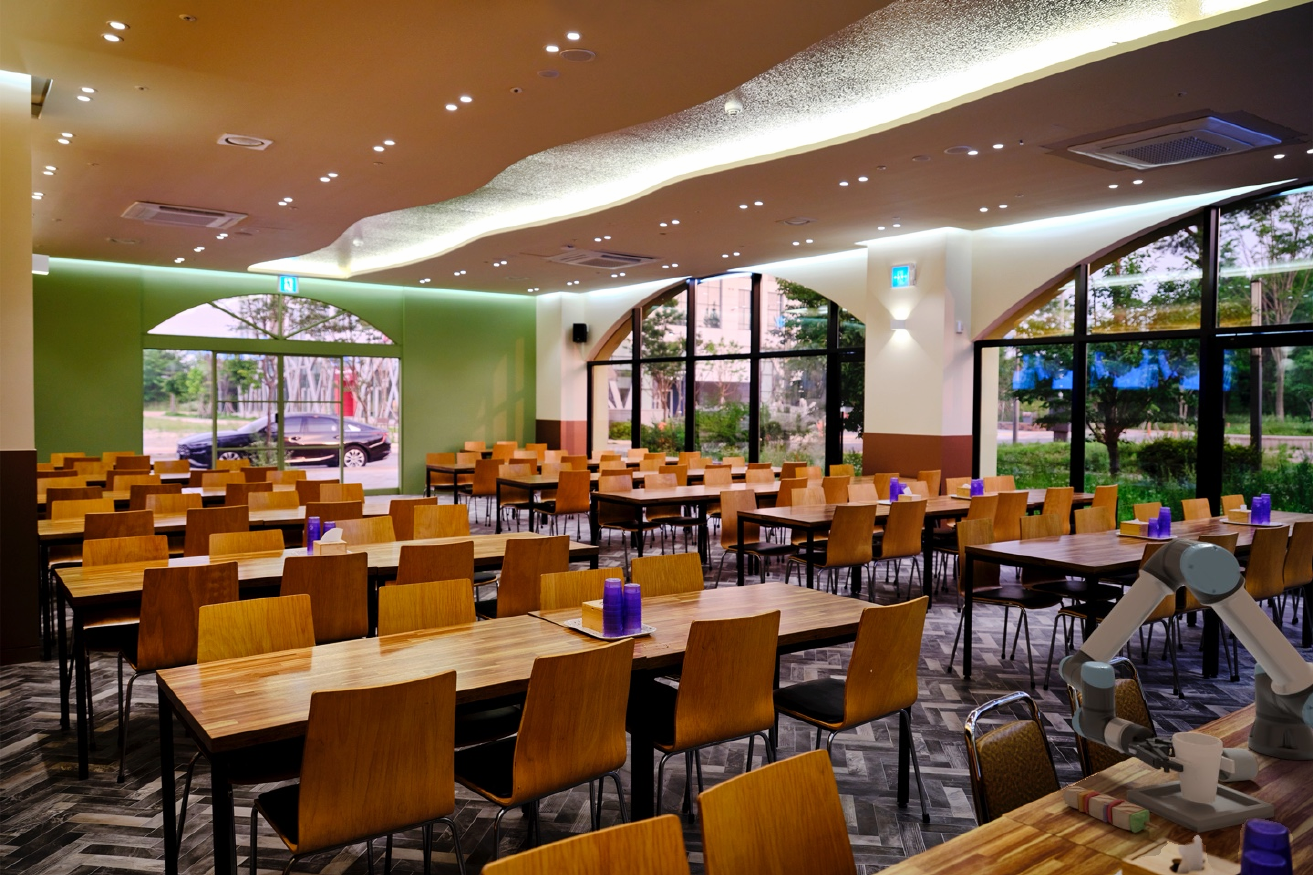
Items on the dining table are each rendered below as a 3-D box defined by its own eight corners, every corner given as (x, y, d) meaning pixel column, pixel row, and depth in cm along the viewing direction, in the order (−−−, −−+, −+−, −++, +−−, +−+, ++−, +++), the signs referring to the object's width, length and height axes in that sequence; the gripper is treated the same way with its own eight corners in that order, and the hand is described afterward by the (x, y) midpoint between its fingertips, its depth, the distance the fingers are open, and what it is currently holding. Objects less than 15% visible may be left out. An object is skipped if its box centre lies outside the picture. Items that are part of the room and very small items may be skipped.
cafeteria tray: (1199, 786, 212) (1199, 776, 212) (1274, 816, 195) (1273, 804, 195) (1126, 800, 205) (1126, 789, 205) (1197, 832, 188) (1197, 820, 188)
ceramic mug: (1262, 783, 213) (1261, 751, 213) (1232, 786, 212) (1231, 753, 212) (1226, 768, 224) (1225, 737, 224) (1197, 771, 222) (1196, 739, 222)
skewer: (1060, 808, 202) (1059, 785, 202) (1079, 802, 205) (1078, 780, 205) (1149, 843, 184) (1148, 819, 184) (1168, 836, 187) (1167, 812, 187)
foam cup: (1223, 794, 202) (1221, 735, 202) (1224, 809, 194) (1223, 748, 194) (1174, 786, 206) (1172, 729, 206) (1173, 800, 198) (1172, 741, 198)
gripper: (1166, 748, 221) (1253, 780, 199) (1094, 760, 213) (1177, 795, 192) (1165, 717, 221) (1252, 746, 199) (1094, 728, 213) (1177, 759, 192)
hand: (1216, 770), depth 196 cm, fingers closed on foam cup, 9 cm apart
